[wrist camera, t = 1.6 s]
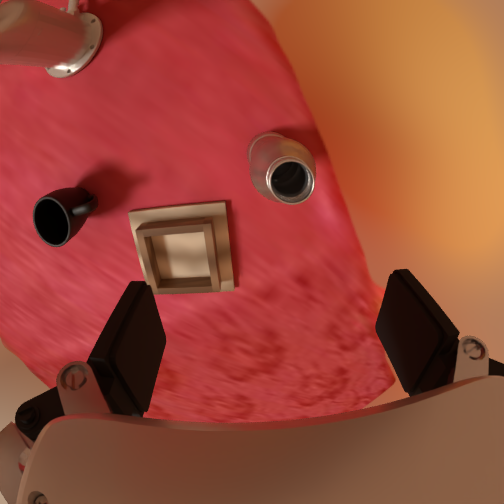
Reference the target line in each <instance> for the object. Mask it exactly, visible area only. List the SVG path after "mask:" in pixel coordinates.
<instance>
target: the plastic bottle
mask: <svg viewBox="0 0 504 504" xmlns="http://www.w3.org/2000/svg"><path fill="white" fill-rule="evenodd" d="M247 159H248V162H249V164H250V168H249V170H250V177H251V180H252V183H253V185H254V187H255V188H256V189H257V191H258V192H259V193H260V194H262V195H263V196H264V197H266V198H267V199H269V200H272V201H274V202H279V203H285V204H290V205H294V204H300V203H302V202H304V201H305V200H307V199H308V198H309V197H310V196H311V194H312V192H313V190H314V186H315V178H316V165H315V161H314V159H313V156H312V155H311V153H310V152H309V150H308V149H307V148H306V147H305V146H304V145H302V144H301V143H299V142H298V141H295V140H293V139H289V138H286V137H285V136H283V135H281V134H279V133H277V132H263V133H260V134H258V135H256V136H255V137H254V138H253V139H252V140H251V141H250V143H249V145H248V148H247Z"/></svg>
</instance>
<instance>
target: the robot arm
mask: <svg viewBox="0 0 504 504" xmlns="http://www.w3.org/2000/svg"><path fill="white" fill-rule="evenodd" d="M1 1H2V0H0V3H1ZM78 5H79V0H69V4H68V11H67V12H66V8H60V9H58V8H55V7H53V6H50V5H47V4H45V3H42V2H39V1H36V0H9V1H7V2H4V3H2V4H0V64H9V65H26V66H38V67H45V69H46V71H47V72H48V73H49V74H50V75H51V76H53V77H57V78H65V77H69V76H72V75H74V74H76V73H78V72H79V71H80V70H82V69H83V68H84V67H85V66H86V65H87V64H88V63H89V62H90V61H91V59H92V58H93V57H94V55H95V54H96V52H97V50H98V48H99V46H100V43H101V40H102V36H103V26H102V23H101V21H100V19H99V18H98V17H97V16H95V15H93V14H91V13H79V9H78ZM375 329H376V333H377V335H378V337H379V339H380V341H381V343H382V345H383V347H384V349H385V351H386V353H387V355H388V357H389V359H390V361H391V363H392V365H393V367H394V369H395V372H396V374H397V376H398V378H399V380H400V382H401V385H402V387H403V389H404V391H405V392H407V393H408V394H409V396H410V397H408V398H405V399H401V400H397V401H394V402H391V403H387V404H382V405H379V406H374V407H370V408H365V409H360V410H355V411H350V412H345V413H339V414H334V415H327V416H321V417H313V418H305V419H296V420H286V421H273V422H254V423H205V422H186V421H173V420H161V419H152V418H143V414H144V412H147V411H148V409H149V405H150V401H151V397H152V393H153V389H154V385H155V382H156V378H157V374H158V370H159V367H160V363H161V359H162V356H163V352H164V349H165V345H166V335H165V332H164V329H163V326H162V322H161V319H160V316H159V312H158V309H157V305H156V302H155V298H154V295H153V291H152V288H151V286H150V285H147V283H146V282H145V281H131V282H130V283H129V285H128V286H127V288H126V290H125V292H124V293H123V295H122V297H121V298H120V300H119V302H118V304H117V305H116V307H115V309H114V311H113V312H112V314H111V316H110V318H109V320H108V321H107V323H106V325H105V327H104V329H103V331H102V333H101V334H100V336H99V338H98V340H97V342H96V344H95V346H94V348H93V350H92V352H91V354H90V356H89V358H88V360H87V362H86V363H85V362H82V361H74V362H71V363H69V364H67V365H65V366H64V367H63V368H62V369H61V370H60V372H59V373H58V375H57V379H56V382H57V386H56V387H54V388H52V389H50V390H48V391H46V392H44V393H42V394H41V395H38V396H36V397H34V398H32V399H30V400H28V401H27V402H25V403H23V404H22V405H21V406H20V407H19V408H18V410H17V412H16V416H15V423H13V422H10V423H9V424H8V425H7V426H6V427H5V428H4V429H3V430H2V431H1V432H0V491H1V493H2V495H3V496H4V498H5V500H6V501H7V502H8V504H504V364H503V363H500V362H497V361H495V360H493V359H490V358H489V354H488V349H487V347H486V345H485V344H484V343H483V342H482V341H481V340H480V339H478V338H476V337H474V336H465V337H463V338H461V340H460V341H459V340H458V338H457V337H458V335H459V333H460V332H459V331H458V330H457V328H456V327H455V326H454V324H453V323H452V322H451V320H450V319H449V318H448V317H447V315H446V314H445V313H444V311H443V310H442V309H441V308H440V306H439V305H438V304H437V303H436V301H435V300H434V299H433V298H432V297H431V295H430V294H429V293H428V292H427V291H426V289H425V288H424V287H423V286H422V285H421V283H420V282H419V281H418V280H417V279H416V278H415V277H414V275H413V274H412V273H411V272H410V271H409V270H408V269H400V270H394V271H393V273H392V274H390V276H389V279H388V283H387V287H386V291H385V294H384V298H383V301H382V305H381V308H380V312H379V315H378V318H377V321H376V325H375Z"/></svg>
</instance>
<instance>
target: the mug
mask: <svg viewBox="0 0 504 504" xmlns="http://www.w3.org/2000/svg"><path fill="white" fill-rule="evenodd" d="M97 206H98V201H97V197H96V195H95V194H92V195H90V194H89V193H88V192H87V191H86V190H85V189H83V188H80V187H78V188H64V189H59V190H55V191H53V192H51V193H49V194H47V195H45V196H43V197H42V198H40V199H39V200H38V201H37V202H36V204H35V206H34V210H33V222H34V226H35V229H36V231H37V233H38V235H39V236H40V238H41V239H42V240H43V241H44V242H45V243H46V244H48V245H50V246H53V247H60V246H63V245H64V244H66V243H67V242H68V241H69V240H70V239H71V238H72V237H74V236H75V235H76V234H77V233H78V231H79V230H80V229H81V227H82V226H83V225H84V223H85V221H86V220H87V218H88V216H89V214H90V212H92V211H94V210H95V209H96V208H97Z"/></svg>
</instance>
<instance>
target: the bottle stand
mask: <svg viewBox="0 0 504 504" xmlns="http://www.w3.org/2000/svg"><path fill="white" fill-rule="evenodd" d="M128 215H129V220H130V224H131V229H132V233H133V237H134V241H135V245H136V249H137V253H138V257H139V260H140V264H141V267H142V271H143V275H144V278H145V281H146V283H147V285H150V286H151V288H152V291H153V294H185V293H208V292H222V291H234V289H235V287H234V278H233V269H232V260H231V251H230V241H229V232H228V222H227V212H226V201H217V202H205V203H194V204H184V205H174V206H165V207H156V208H148V209H140V210H132V211H129V212H128Z"/></svg>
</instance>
